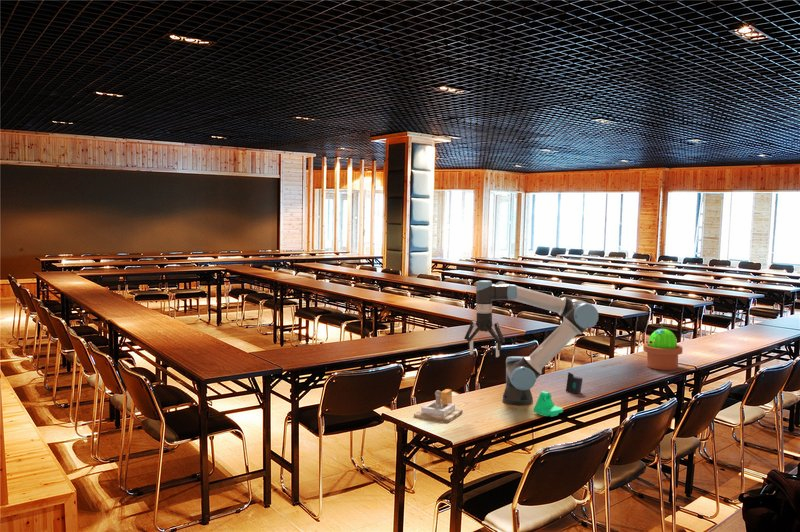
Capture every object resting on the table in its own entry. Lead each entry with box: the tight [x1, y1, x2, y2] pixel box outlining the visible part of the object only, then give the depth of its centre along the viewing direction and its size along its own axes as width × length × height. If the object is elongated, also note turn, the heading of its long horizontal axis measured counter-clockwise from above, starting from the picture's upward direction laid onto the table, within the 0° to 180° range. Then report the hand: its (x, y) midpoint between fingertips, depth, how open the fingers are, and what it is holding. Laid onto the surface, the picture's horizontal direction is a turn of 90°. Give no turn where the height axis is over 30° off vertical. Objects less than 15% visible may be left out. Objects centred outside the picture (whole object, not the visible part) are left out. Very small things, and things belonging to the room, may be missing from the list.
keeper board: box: [413, 389, 464, 424], centre depth 279 cm, size 16×18×12 cm
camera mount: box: [533, 390, 564, 418], centre depth 279 cm, size 12×8×10 cm, turn 120°
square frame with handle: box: [420, 388, 456, 417], centre depth 282 cm, size 18×12×8 cm, turn 150°
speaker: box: [565, 371, 583, 394], centre depth 314 cm, size 8×6×10 cm
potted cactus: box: [642, 327, 683, 371], centre depth 367 cm, size 22×22×25 cm
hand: (484, 355), depth 286 cm, fingers open, 13 cm apart
